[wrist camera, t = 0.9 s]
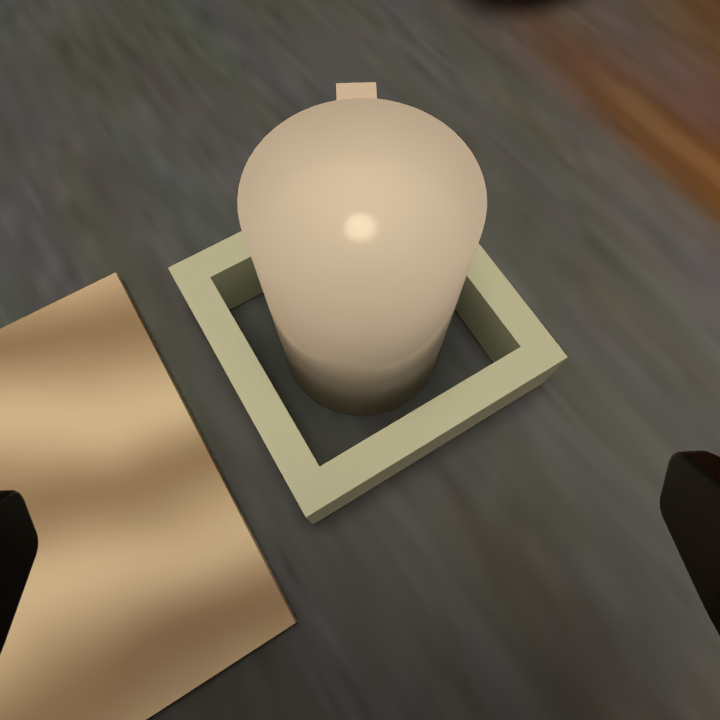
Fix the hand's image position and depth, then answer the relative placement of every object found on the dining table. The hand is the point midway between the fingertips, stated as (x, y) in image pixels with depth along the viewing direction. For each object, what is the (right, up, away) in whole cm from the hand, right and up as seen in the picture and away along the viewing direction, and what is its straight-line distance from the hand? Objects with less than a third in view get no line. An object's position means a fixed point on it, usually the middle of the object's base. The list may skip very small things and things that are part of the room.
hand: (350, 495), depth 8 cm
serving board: (-12, -4, +14) cm, 18 cm away
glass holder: (0, +3, +16) cm, 16 cm away
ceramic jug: (0, +3, +16) cm, 16 cm away
